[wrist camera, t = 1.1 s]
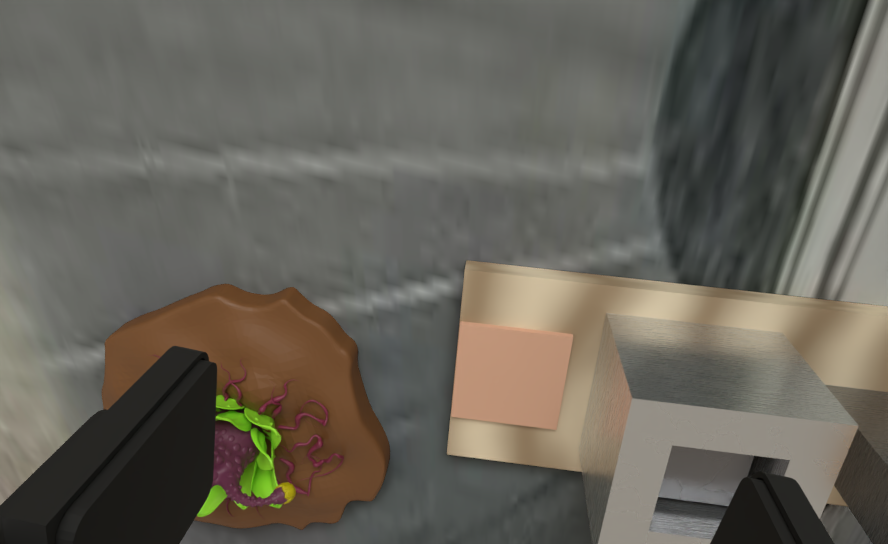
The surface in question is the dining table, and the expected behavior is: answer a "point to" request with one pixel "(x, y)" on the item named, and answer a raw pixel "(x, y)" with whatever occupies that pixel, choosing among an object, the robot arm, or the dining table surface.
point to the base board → (592, 296)
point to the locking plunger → (703, 475)
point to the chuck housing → (699, 422)
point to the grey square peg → (866, 460)
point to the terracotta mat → (510, 374)
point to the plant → (267, 403)
